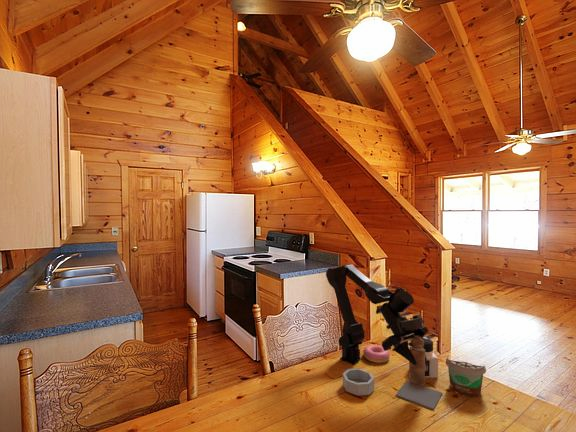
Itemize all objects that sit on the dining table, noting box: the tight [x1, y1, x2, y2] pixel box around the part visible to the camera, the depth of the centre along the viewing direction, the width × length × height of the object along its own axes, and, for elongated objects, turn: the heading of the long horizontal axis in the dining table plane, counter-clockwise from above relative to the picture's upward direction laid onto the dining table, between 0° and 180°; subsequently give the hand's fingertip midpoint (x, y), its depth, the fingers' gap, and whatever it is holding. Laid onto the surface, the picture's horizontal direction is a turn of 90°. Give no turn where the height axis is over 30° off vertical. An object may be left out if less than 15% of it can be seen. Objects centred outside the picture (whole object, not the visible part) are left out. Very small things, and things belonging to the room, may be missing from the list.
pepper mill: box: [408, 336, 426, 386], centre depth 103 cm, size 5×5×15 cm
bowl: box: [342, 368, 375, 396], centre depth 110 cm, size 10×10×4 cm
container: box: [423, 336, 439, 379], centre depth 120 cm, size 8×8×13 cm
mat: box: [395, 380, 443, 411], centre depth 106 cm, size 12×11×1 cm
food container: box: [445, 356, 487, 398], centre depth 106 cm, size 12×6×10 cm, turn 62°
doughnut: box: [362, 344, 391, 364], centre depth 132 cm, size 11×11×4 cm
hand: (420, 362), depth 102 cm, fingers closed on pepper mill, 5 cm apart
